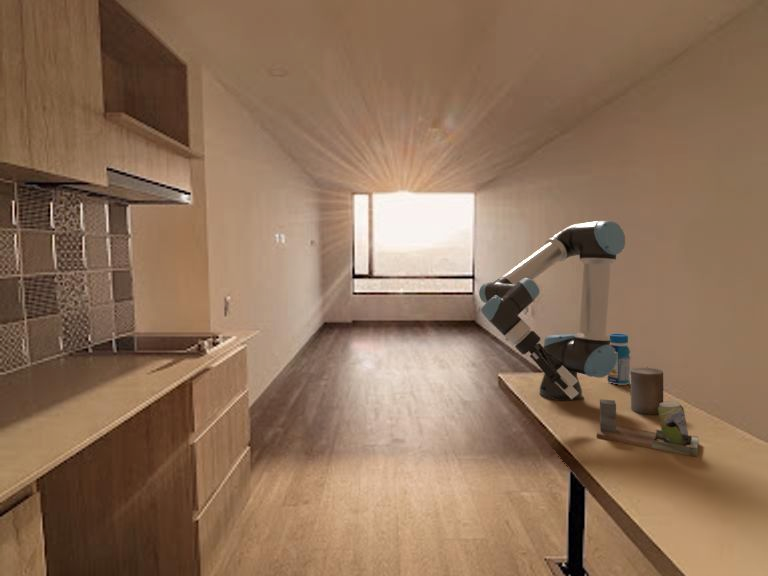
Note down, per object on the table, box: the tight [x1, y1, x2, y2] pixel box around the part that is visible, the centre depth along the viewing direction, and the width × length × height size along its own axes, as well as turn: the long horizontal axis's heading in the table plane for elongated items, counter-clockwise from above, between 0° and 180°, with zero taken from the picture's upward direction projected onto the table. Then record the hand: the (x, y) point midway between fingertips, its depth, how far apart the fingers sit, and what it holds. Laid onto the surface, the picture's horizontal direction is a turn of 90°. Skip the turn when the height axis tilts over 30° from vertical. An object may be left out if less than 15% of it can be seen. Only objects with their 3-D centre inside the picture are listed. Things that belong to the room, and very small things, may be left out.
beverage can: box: [658, 400, 691, 446], centre depth 125 cm, size 6×7×12 cm
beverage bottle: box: [607, 333, 631, 386], centre depth 188 cm, size 8×8×20 cm
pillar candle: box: [630, 366, 664, 416], centre depth 154 cm, size 10×10×15 cm
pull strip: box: [596, 398, 700, 458], centre depth 129 cm, size 10×24×10 cm, turn 53°
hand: (575, 389), depth 137 cm, fingers open, 13 cm apart
